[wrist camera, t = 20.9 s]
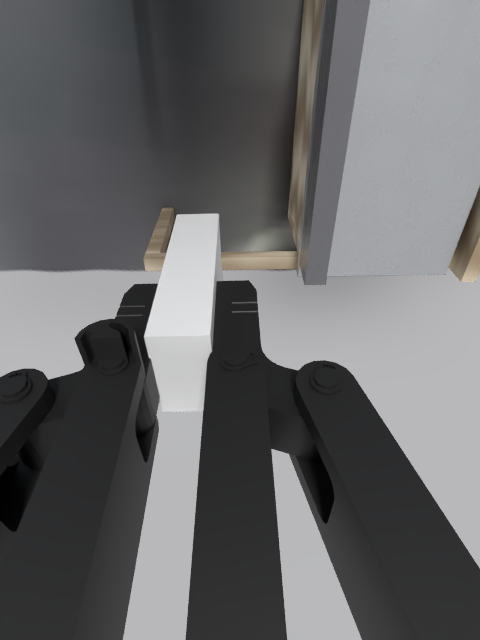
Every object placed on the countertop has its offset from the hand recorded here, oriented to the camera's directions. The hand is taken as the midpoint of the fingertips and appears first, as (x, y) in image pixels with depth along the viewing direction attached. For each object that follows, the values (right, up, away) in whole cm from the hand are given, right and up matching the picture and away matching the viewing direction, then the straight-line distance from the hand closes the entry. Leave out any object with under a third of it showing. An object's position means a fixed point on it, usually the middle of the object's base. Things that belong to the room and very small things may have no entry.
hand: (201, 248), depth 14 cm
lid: (+13, +10, +12) cm, 20 cm away
